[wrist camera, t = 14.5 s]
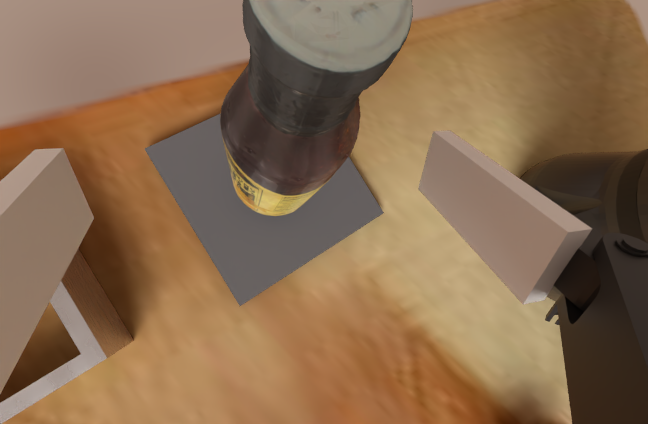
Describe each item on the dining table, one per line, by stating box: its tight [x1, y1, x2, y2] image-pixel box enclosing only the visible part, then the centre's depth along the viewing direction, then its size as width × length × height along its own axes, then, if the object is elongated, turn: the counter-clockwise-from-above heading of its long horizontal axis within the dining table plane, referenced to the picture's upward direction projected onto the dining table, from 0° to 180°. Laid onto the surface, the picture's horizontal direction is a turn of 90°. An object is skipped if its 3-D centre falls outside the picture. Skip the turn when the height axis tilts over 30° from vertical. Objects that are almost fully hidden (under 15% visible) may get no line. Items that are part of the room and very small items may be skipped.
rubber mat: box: [145, 114, 384, 306], centre depth 27 cm, size 14×14×1 cm
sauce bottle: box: [220, 0, 413, 216], centre depth 17 cm, size 7×6×20 cm
